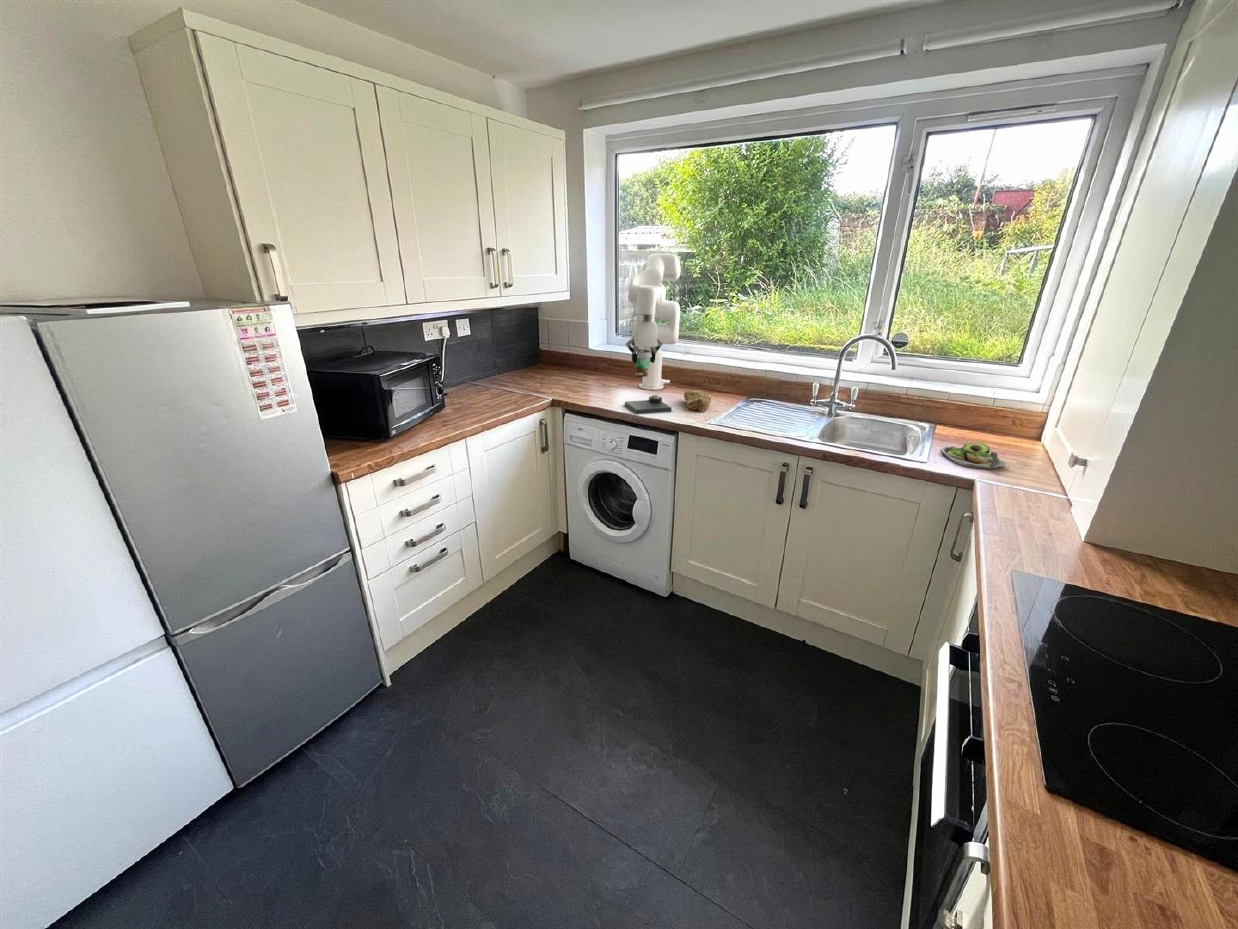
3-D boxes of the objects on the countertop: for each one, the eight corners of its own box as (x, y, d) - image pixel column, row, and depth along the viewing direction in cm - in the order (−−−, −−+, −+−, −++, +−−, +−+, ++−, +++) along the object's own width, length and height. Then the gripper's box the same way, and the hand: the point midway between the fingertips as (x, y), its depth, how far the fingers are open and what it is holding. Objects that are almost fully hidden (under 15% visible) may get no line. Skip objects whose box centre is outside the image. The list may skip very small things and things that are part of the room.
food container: (650, 378, 204) (652, 353, 200) (635, 377, 204) (637, 352, 200) (649, 372, 216) (651, 349, 212) (635, 371, 216) (637, 348, 212)
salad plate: (1021, 475, 155) (1026, 461, 154) (959, 470, 158) (963, 456, 156) (989, 454, 173) (993, 442, 171) (934, 450, 176) (937, 437, 174)
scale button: (657, 397, 222) (657, 393, 221) (659, 399, 219) (659, 395, 219) (651, 397, 221) (651, 394, 220) (653, 399, 219) (654, 395, 218)
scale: (658, 403, 225) (658, 395, 224) (671, 411, 212) (672, 403, 211) (624, 405, 219) (624, 397, 218) (636, 414, 207) (636, 405, 206)
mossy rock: (709, 415, 213) (714, 396, 229) (707, 399, 209) (712, 380, 225) (679, 417, 217) (686, 398, 233) (676, 401, 213) (684, 382, 229)
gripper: (661, 317, 208) (658, 360, 214) (622, 317, 202) (620, 361, 208) (669, 319, 201) (666, 363, 207) (628, 319, 195) (627, 364, 202)
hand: (643, 362), depth 208 cm, fingers closed on food container, 7 cm apart
